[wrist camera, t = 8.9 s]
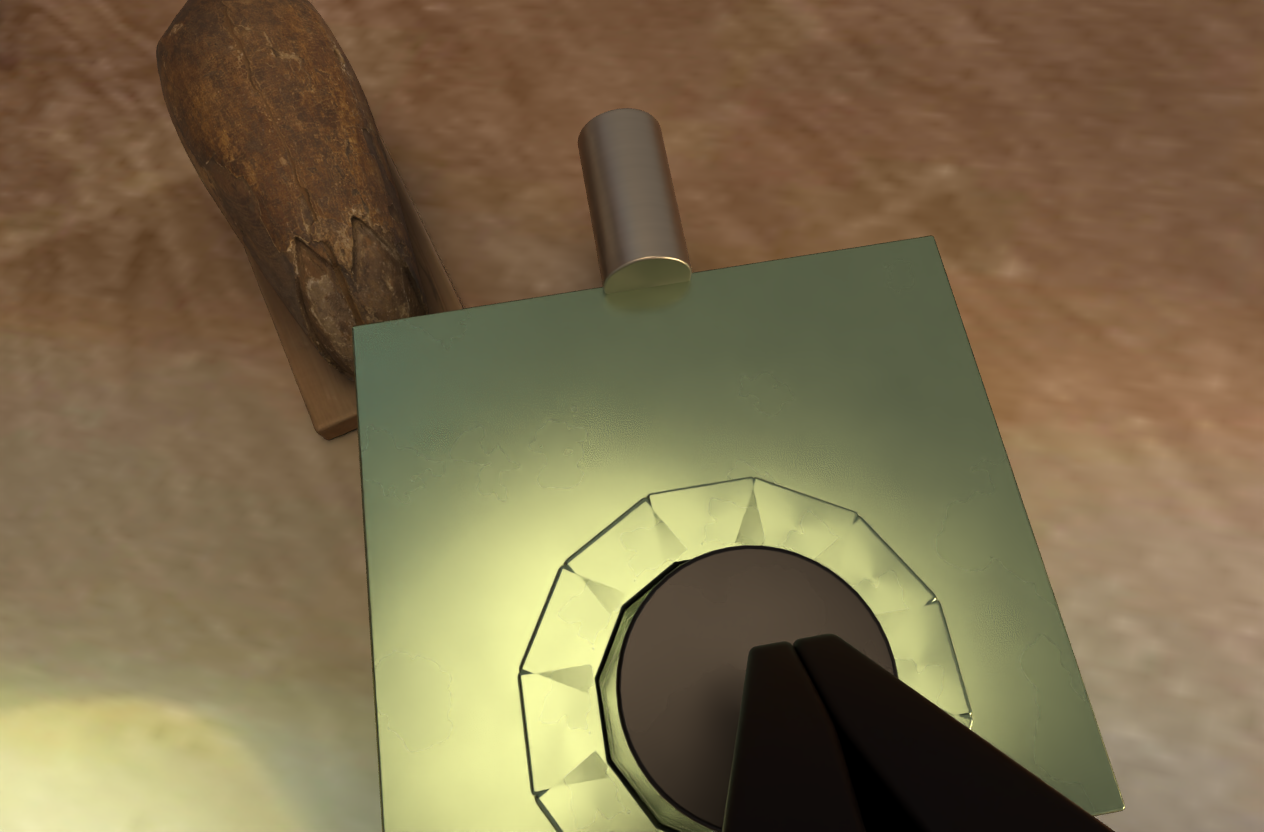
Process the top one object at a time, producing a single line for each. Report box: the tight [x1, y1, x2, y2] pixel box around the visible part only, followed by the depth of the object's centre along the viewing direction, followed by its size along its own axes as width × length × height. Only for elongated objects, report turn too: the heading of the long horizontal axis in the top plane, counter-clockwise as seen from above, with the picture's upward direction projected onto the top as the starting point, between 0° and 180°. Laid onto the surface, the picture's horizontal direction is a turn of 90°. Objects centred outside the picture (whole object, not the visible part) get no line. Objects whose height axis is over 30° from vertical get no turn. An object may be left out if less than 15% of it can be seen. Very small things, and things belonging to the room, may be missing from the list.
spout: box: [578, 108, 692, 294], centre depth 18 cm, size 4×2×2 cm, turn 9°
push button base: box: [352, 236, 1125, 832], centre depth 17 cm, size 12×12×7 cm
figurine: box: [156, 0, 463, 440], centre depth 21 cm, size 14×4×9 cm, turn 26°
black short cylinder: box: [616, 545, 899, 832], centre depth 12 cm, size 4×4×2 cm
